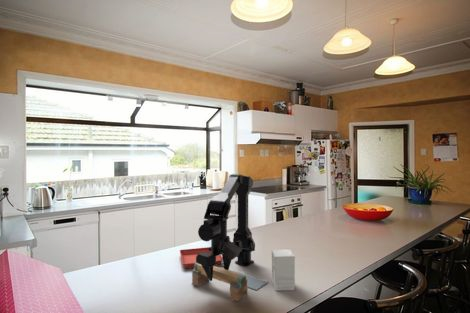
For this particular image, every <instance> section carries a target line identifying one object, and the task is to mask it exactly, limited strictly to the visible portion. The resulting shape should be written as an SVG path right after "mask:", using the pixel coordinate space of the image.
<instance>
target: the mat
mask: <svg viewBox="0 0 470 313" xmlns="http://www.w3.org/2000/svg"><path fill="white" fill-rule="evenodd" d="M218 267H219V268H222V269H224V267H222V266H218ZM228 271H232V272H235V273H238V274H241V275H245V276H246V279H247V289H250V290H253V291H259V290H260V289H261V288H263V287H264V286H265V285H266V284H267V283H268V281H266V280H263V279H261V278H257V277H254V276H250V275H248V274H244V273H241V272H238V271H235V270H231V269H229V270H228Z"/></svg>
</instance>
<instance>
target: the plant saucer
mask: <svg viewBox="0 0 470 313" xmlns="http://www.w3.org/2000/svg"><path fill="white" fill-rule="evenodd" d="M209 247H210V246H209ZM209 247H197V248H188V249H186V248H185V249H180V250H179V254H180V260H181V264H182V266H183V267H184V268H185V269H194V264H195V263H196V256H197V255H198V254H200V253H202V252H208V253H212V251H209ZM215 263H216V265H215V266H218V265H220V264H221V263H223V258H222V254H221V255H219V256H217V257H216V261H215Z"/></svg>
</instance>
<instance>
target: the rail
mask: <svg viewBox="0 0 470 313" xmlns="http://www.w3.org/2000/svg"><path fill="white" fill-rule="evenodd" d="M219 267H220V266H217V265H215V266H214V267H213V278H212V279H214V280H217V281H220V282H223V283H225V284H229V285H230V283H232V282H233V283H236V284H239V288H242V287H244V286H245V285H246V276H245V275H246V274H245V275H241V274H242V273H241V274H238V273H239V272H238V273H235V272H236V271H235V272H232V271H233V270H232V271H228V270H225V269H222V268H223V267H222V268H219ZM194 269H195V270H198V271H200V274H202V275H205V276H207V275H206V273H205V270H204V269H203V267H202V265H201V264H199V263H195V264H194V268H193V270H194Z"/></svg>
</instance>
